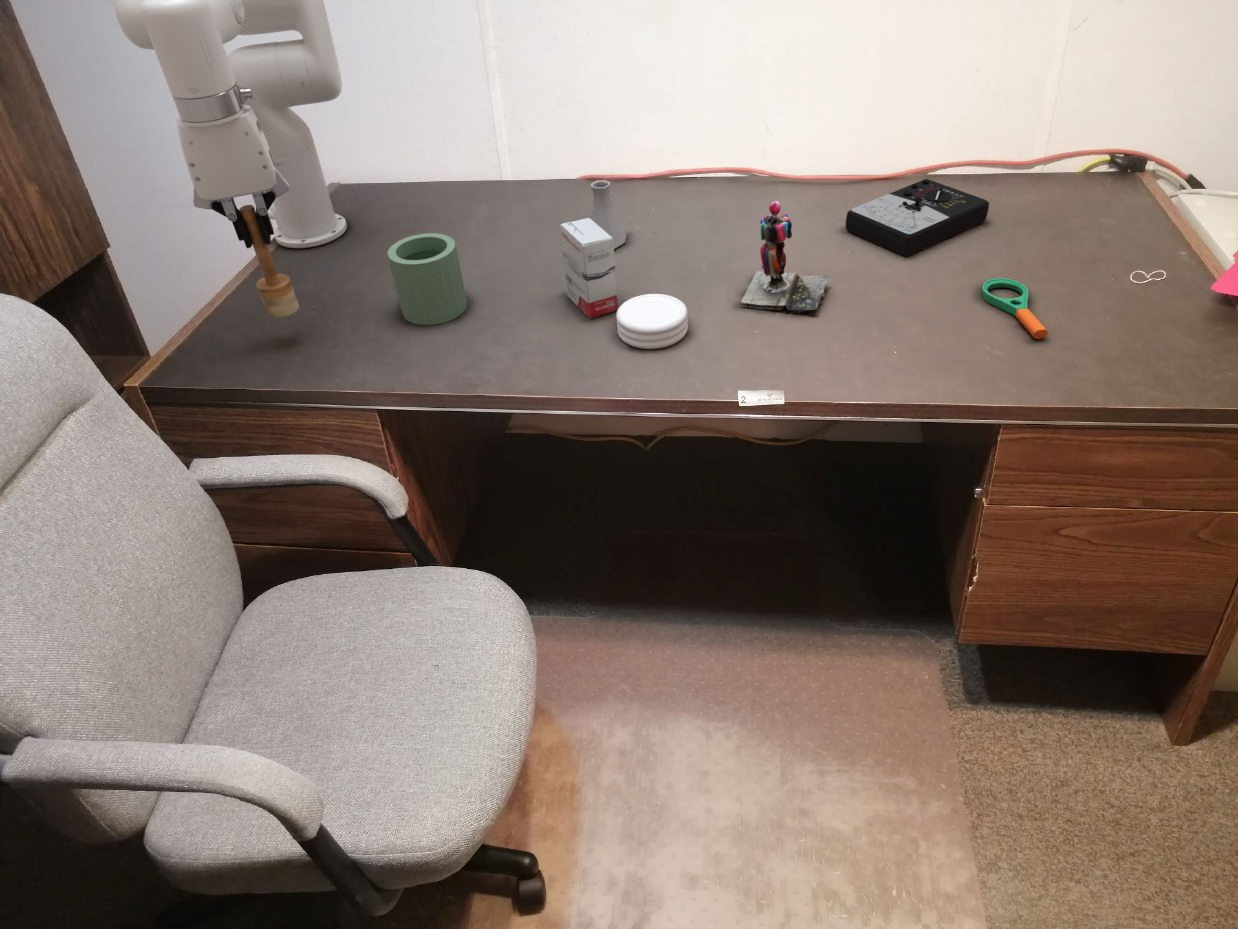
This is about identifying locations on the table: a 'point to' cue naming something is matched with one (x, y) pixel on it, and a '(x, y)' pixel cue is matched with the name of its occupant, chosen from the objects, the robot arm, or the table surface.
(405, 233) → the table surface
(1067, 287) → the table surface
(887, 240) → the multimeter
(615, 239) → the flask
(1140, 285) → the table surface
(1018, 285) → the magnifying glass
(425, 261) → the jar
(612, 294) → the ink box
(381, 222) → the table surface
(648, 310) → the white round disc stack
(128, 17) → the robot arm
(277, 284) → the wooden stamp
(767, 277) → the statue
